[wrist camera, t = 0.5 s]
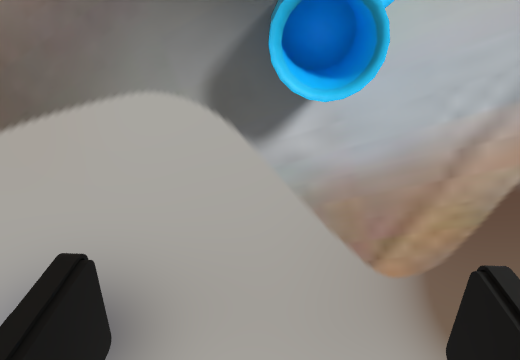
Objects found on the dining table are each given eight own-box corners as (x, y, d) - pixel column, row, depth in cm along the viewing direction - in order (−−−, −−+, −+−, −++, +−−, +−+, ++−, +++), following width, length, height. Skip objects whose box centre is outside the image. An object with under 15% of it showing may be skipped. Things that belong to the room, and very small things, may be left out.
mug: (304, 95, 36) (312, 123, 29) (250, 20, 33) (244, 30, 26) (422, 10, 32) (465, 17, 25) (373, -82, 30) (405, -104, 22)
